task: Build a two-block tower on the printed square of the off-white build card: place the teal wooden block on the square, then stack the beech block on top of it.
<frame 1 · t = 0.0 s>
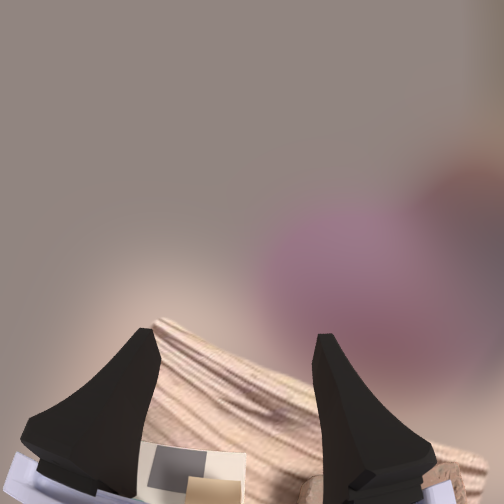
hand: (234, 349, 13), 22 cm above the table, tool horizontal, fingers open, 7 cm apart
build card: (177, 502, 21), on the table
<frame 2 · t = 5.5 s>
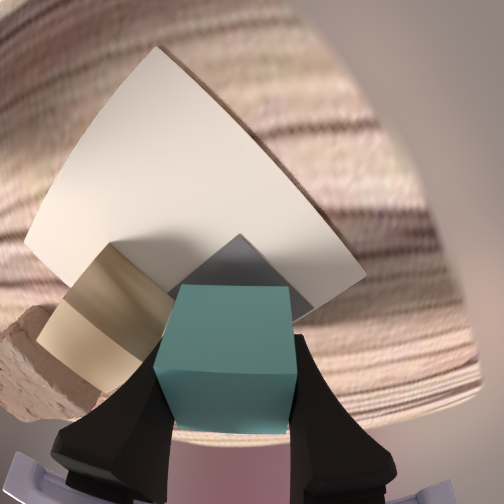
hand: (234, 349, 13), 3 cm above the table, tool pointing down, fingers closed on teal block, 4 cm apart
beech block: (120, 294, 15), resting on build card, touching gripper
build card: (171, 256, 14), on the table
brick: (35, 356, 21), on the table
teal block: (236, 324, 14), point 2 cm above the table, touching gripper
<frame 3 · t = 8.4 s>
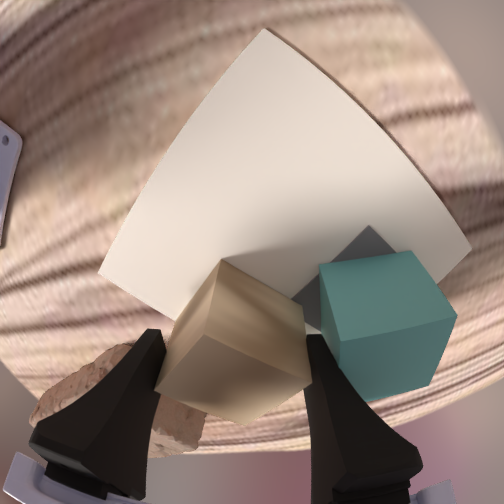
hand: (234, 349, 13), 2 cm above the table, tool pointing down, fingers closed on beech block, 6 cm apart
beech block: (236, 313, 14), resting on build card, touching gripper
build card: (295, 259, 13), on the table
brick: (110, 395, 21), on the table
teal block: (365, 296, 14), resting on build card, touching gripper
when the fingers open (7 cm above the table, at t = 12.1 s): beech block stays where it is, resting on teal block.
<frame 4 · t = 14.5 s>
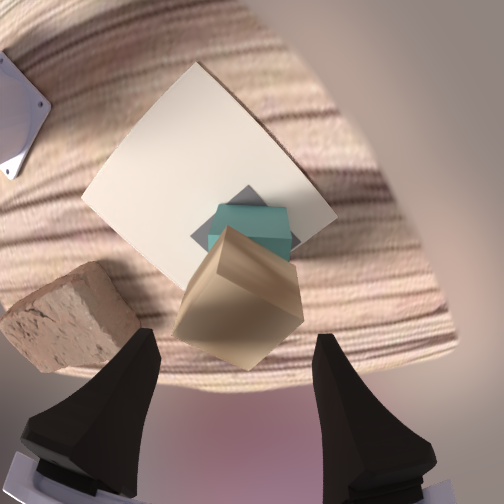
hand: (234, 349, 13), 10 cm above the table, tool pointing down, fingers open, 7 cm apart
beech block: (240, 274, 17), point 5 cm above the table, touching teal block
build card: (200, 202, 20), on the table
brick: (69, 310, 27), on the table
teal block: (251, 235, 21), resting on build card, touching beech block
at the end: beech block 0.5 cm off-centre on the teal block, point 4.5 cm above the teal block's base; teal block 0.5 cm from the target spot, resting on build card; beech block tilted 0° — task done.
